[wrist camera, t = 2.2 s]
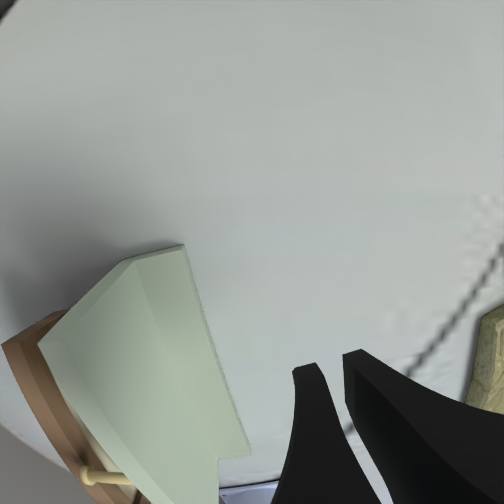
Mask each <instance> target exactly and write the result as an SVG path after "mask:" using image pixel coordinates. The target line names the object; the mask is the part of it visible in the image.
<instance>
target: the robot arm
mask: <svg viewBox="0 0 504 504" xmlns="http://www.w3.org/2000/svg"><path fill="white" fill-rule="evenodd" d="M342 356H343V371H344V389H345V403H346V405H347V408H348V411H349V413H350V416H351V418H352V421H353V424H354V426H355V428H356V430H357V432H358V434H359V436H360V438H361V439H362V441H363V443H364V445H365V447H366V449H367V450H368V452H369V454H370V456H371V458H372V459H373V461H374V463H375V465H376V467H377V469H378V470H379V472H380V474H381V476H382V478H383V480H384V482H385V484H386V486H387V488H388V490H389V493H390V496H391V498H392V501H393V503H394V504H504V414H500V413H496V412H491V411H487V410H483V409H480V408H476V407H473V406H470V405H467V404H464V403H461V402H458V401H456V400H453V399H450V398H448V397H446V396H443V395H441V394H439V393H437V392H435V391H432V390H430V389H428V388H426V387H424V386H422V385H420V384H418V383H417V382H415V381H413V380H411V379H410V378H408V377H406V376H404V375H402V374H401V373H399V372H397V371H396V370H394V369H392V368H391V367H389V366H388V365H386V364H384V363H383V362H381V361H380V360H378V359H377V358H375V357H374V356H372V355H370V354H369V353H367V352H366V351H364V350H362V349H359V350H356V351H353V352H349V353H346V354H343V355H342ZM292 374H293V379H294V385H295V408H294V420H293V427H292V432H291V438H290V443H289V448H288V452H287V456H286V460H285V464H284V467H283V470H282V473H281V477H280V480H279V481H274V482H269V483H263V484H257V485H251V486H244V487H236V488H227V489H220V490H219V496H220V497H221V498H222V500H223V501H224V503H225V504H381V502H380V500H379V499H378V497H377V495H376V494H375V492H374V490H373V488H372V487H371V485H370V483H369V481H368V479H367V477H366V476H365V474H364V472H363V470H362V468H361V467H360V465H359V463H358V461H357V459H356V457H355V455H354V453H353V451H352V449H351V447H350V445H349V443H348V441H347V439H346V437H345V435H344V432H343V430H342V427H341V424H340V421H339V418H338V415H337V412H336V409H335V406H334V403H333V400H332V397H331V394H330V391H329V388H328V385H327V382H326V380H325V377H324V375H323V373H322V372H321V370H320V368H319V367H318V365H317V364H316V362H315V363H311V364H307V365H304V366H300V367H296V368H295V369H294V370H293V371H292Z"/></svg>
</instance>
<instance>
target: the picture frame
mask: <svg viewBox="0 0 504 504" xmlns="http://www.w3.org/2000/svg"><path fill="white" fill-rule="evenodd" d="M69 310H70V309H66V310H61V311H56V312H54V313H52V314H50V315H49V316H47V317H45V318H43V319H42V320H40V321H38V322H37V323H35V324H33V325H32V326H30V327H28V328H27V329H25V330H24V331H22V332H20V333H19V334H17V335H15V336H14V337H12V338H10V339H9V340H7V341H6V342H4V343H2V344H1V346H2V348H3V351H4V353H5V356H6V358H7V361H8V363H9V365H10V367H11V370H12V372H13V374H14V376H15V378H16V381H17V383H18V385H19V387H20V389H21V391H22V393H23V395H24V397H25V399H26V401H27V403H28V404H29V406H30V408H31V410H32V412H33V414H34V415H35V417H36V419H37V421H38V422H39V424H40V426H41V427H42V429H43V431H44V432H45V434H46V436H47V437H48V439H49V440H50V442H51V443H52V445H53V446H54V448H55V449H56V451H57V452H58V454H59V455H60V457H61V458H62V460H63V461H64V462H65V464H66V465H67V467H68V468H69V469H70V471H71V472H72V473H73V475H74V476H75V477H76V479H77V480H78V481H79V482H80V484H81V485H82V486H83V488H84V489H85V490H86V491H87V492H88V494H89V495H90V496H91V497H92V498H93V500H94V501H95V502H96V503H97V504H151V502H150V501H149V500H148V499H147V498H146V497H145V496H144V495H143V494H142V493H141V492H140V491H139V490H138V489H137V488H136V486H135V485H124V484H110V483H100V482H96V483H95V484H94V485H92V486H91V485H86V484H84V483H83V482H82V480H81V478H80V469H81V467H82V466H91V467H92V468H93V469H94V470H95V471H105V472H121V473H123V472H122V471H121V470H120V469H119V467H118V466H117V465H116V464H115V463H114V462H113V460H112V459H111V458H110V457H109V455H108V454H107V453H106V452H105V450H104V449H103V448H102V447H101V445H100V444H99V443H98V441H97V440H96V439H95V437H94V436H93V435H92V433H91V432H90V431H89V429H88V428H87V426H86V425H85V424H84V422H83V421H82V419H81V418H80V416H79V415H78V413H77V412H76V410H75V409H74V407H73V406H72V404H71V403H70V401H69V400H68V398H67V396H66V395H65V393H64V392H63V390H62V388H61V387H60V385H59V383H58V381H57V380H56V378H55V376H54V375H53V373H52V371H51V369H50V367H49V366H48V364H47V362H46V360H45V358H44V356H43V354H42V352H41V350H40V348H39V346H38V342H39V341H40V340H41V339H42V338H43V337H44V336H45V335H46V334H47V333H48V332H49V331H50V330H51V329H52V328H53V327H54V326H55V325H56V323H57V322H58V321H59V320H60V319H61V318H62V317H63V316H64V315H65V314H66V313H67V312H68V311H69Z"/></svg>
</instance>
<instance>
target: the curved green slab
mask: <svg viewBox="0 0 504 504" xmlns="http://www.w3.org/2000/svg"><path fill="white" fill-rule="evenodd" d="M38 346H39V348H40V350H41V352H42V354H43V356H44V358H45V360H46V362H47V364H48V366H49V367H50V369H51V371H52V373H53V375H54V376H55V378H56V380H57V381H58V383H59V385H60V387H61V388H62V390H63V392H64V393H65V395H66V396H67V398H68V400H69V401H70V403H71V404H72V406H73V407H74V409H75V410H76V412H77V413H78V415H79V416H80V418H81V419H82V421H83V422H84V424H85V425H86V426H87V428H88V429H89V431H90V432H91V433H92V435H93V436H94V437H95V439H96V440H97V441H98V443H99V444H100V445H101V447H102V448H103V449H104V450H105V452H106V453H107V454H108V455H109V457H110V458H111V459H112V460H113V462H114V463H115V464H116V465H117V466H118V467H119V469H120V470H121V471H122V472H123V473H121V472H105V471H95V470H94V469H93V468H92V467H91V466H82V467H81V469H80V478H81V480H82V482H83V483H84V484H86V485H91V486H92V485H94V484H95V483H96V482H100V483H110V484H124V485H135V486H136V488H137V489H138V490H139V491H140V492H141V493H142V494H143V495H144V496H145V497H146V498H147V499H148V500H149V501H150V502H151V503H152V504H219V477H218V460H222V459H230V458H237V457H244V456H250V455H251V451H250V444H249V442H248V439H247V436H246V434H245V431H244V429H243V426H242V423H241V421H240V418H239V415H238V413H237V410H236V407H235V404H234V402H233V399H232V396H231V393H230V391H229V388H228V385H227V382H226V379H225V376H224V373H223V370H222V367H221V365H220V362H219V359H218V356H217V353H216V350H215V346H214V343H213V340H212V337H211V334H210V331H209V328H208V325H207V321H206V318H205V315H204V312H203V308H202V305H201V302H200V298H199V295H198V292H197V288H196V285H195V281H194V278H193V275H192V271H191V267H190V264H189V260H188V257H187V253H186V249H185V246H184V245H180V246H176V247H171V248H167V249H163V250H159V251H155V252H151V253H147V254H143V255H138V256H134V257H130V258H126V259H123V260H122V261H120V262H119V263H118V264H117V265H116V266H115V267H114V268H113V269H112V270H111V271H110V272H109V273H107V274H106V275H105V276H104V277H103V278H102V279H101V280H100V281H99V282H98V283H97V284H96V285H95V286H94V287H93V288H92V289H91V290H90V291H89V292H87V293H86V294H85V295H84V296H83V297H82V298H81V299H80V300H79V301H78V302H77V303H76V304H75V305H74V306H73V307H72V308H71V309H70V310H69V311H68V312H67V313H66V314H65V315H64V316H63V317H62V318H61V319H60V320H59V321H58V322H57V323H56V325H55V326H54V327H53V328H52V329H51V330H50V331H49V332H48V333H47V334H46V335H45V336H44V337H43V338H42V339H41V340H40V341H39V342H38Z"/></svg>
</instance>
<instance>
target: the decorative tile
mask: <svg viewBox="0 0 504 504" xmlns="http://www.w3.org/2000/svg"><path fill="white" fill-rule="evenodd" d="M472 374H473V375H472V378H471V382H470V386H469V390H468V393H467V397H466V401H465V404H467V405H470V406H473V407H476V408H480V409H483V410H487V411H491V412H496V413H500V414H504V305H502V306H500V307H499V308H497V309H495V310H493V311H492V312H490V313H488V314H486V315H484V316H483V318H482V320H481V325H480V333H479V339H478V346H477V352H476V357H475V362H474V367H473V372H472Z"/></svg>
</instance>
